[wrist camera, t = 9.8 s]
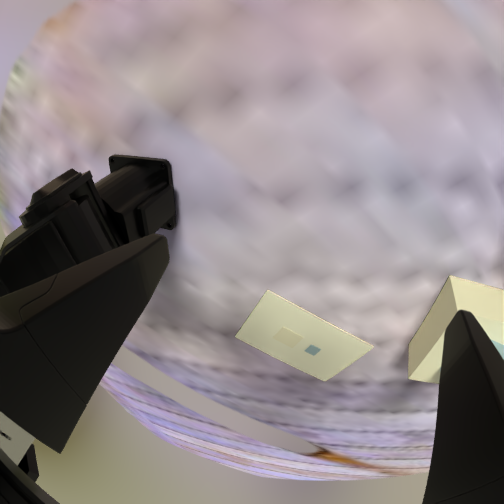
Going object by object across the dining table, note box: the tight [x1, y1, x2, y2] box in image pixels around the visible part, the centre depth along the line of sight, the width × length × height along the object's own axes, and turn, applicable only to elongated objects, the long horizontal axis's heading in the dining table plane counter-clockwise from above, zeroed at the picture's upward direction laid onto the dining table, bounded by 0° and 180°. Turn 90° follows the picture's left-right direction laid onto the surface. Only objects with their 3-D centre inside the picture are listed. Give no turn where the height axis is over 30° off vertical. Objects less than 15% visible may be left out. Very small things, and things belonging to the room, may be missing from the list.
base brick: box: [408, 275, 504, 384], centre depth 20 cm, size 9×9×4 cm
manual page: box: [235, 290, 374, 382], centre depth 30 cm, size 12×9×1 cm
